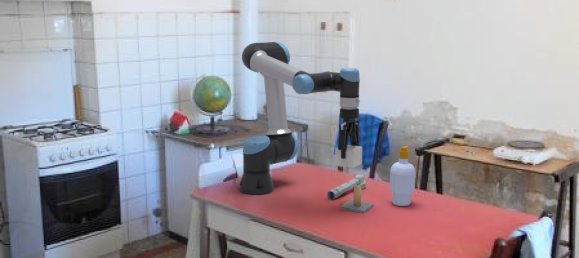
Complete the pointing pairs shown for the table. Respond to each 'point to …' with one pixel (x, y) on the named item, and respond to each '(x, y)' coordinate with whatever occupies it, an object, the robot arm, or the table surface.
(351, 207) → the peg on square base
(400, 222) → the table surface
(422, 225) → the table surface
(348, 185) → the toothbrush head
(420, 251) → the table surface
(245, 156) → the robot arm
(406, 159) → the soap bottle
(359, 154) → the nut
